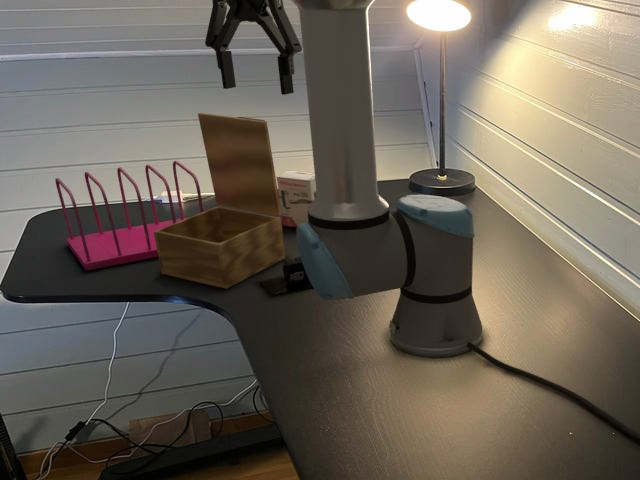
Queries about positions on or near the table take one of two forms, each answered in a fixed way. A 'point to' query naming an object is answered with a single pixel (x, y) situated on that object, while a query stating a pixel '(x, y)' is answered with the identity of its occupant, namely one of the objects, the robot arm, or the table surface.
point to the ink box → (295, 196)
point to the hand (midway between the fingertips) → (258, 90)
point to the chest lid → (240, 162)
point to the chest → (220, 246)
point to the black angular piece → (289, 279)
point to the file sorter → (125, 241)
